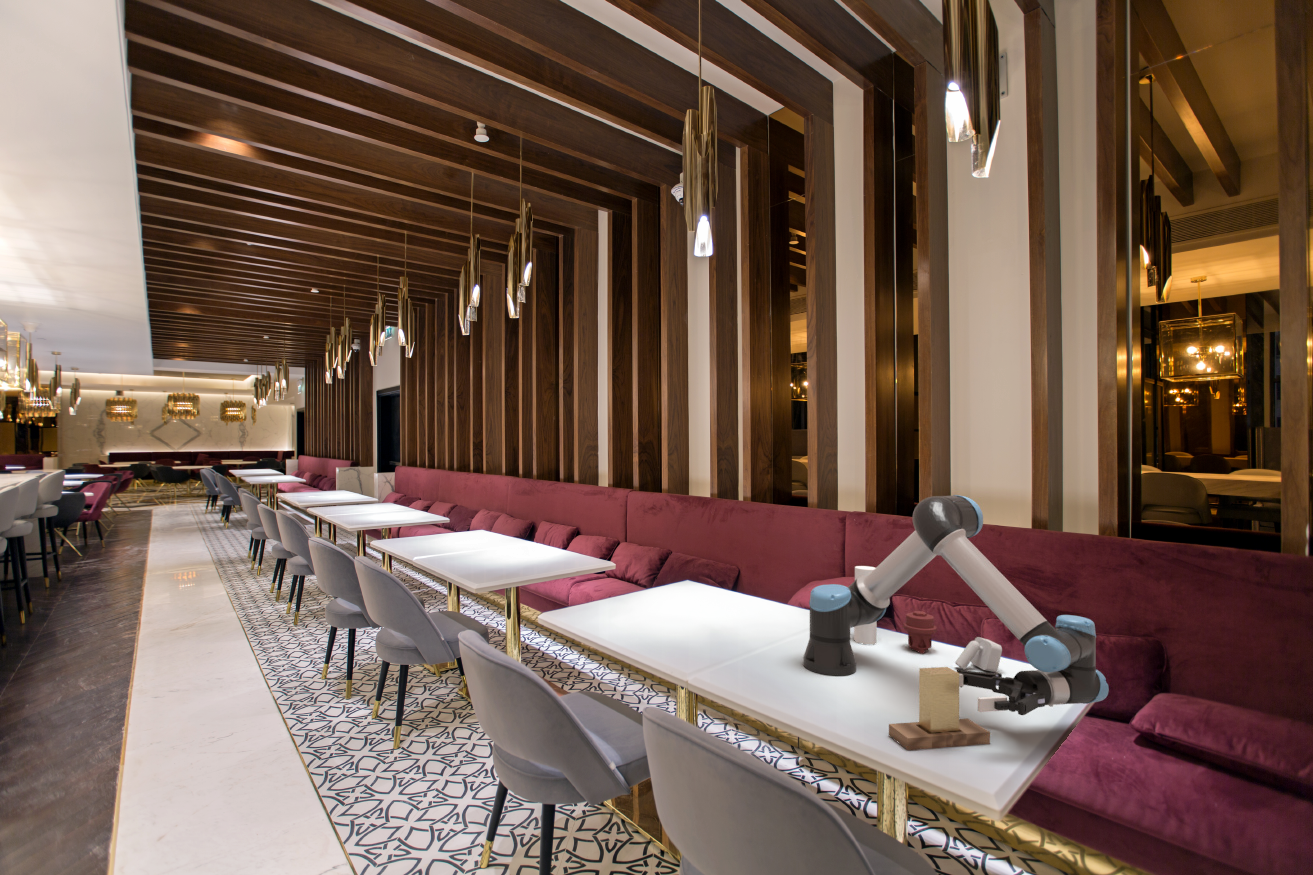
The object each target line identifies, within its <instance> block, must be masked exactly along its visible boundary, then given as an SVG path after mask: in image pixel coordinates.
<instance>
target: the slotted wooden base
mask: <svg viewBox="0 0 1313 875" xmlns="http://www.w3.org/2000/svg"><path fill="white" fill-rule="evenodd" d="M889 735H890V736H891V737H893V738H894V739H895V740H896V741H895V740H894V739H893V738H892V739H893V740H894V741H895V742H897V741H898V742H899V743H900V744H901V745H900V744H899V743H898V742H897V743H898V744H899V745H900V746H901V747H903V748H904V747H905V748H906V749H905V748H904V749H905V750H907V751H914V750H915V751H916V750H918V751H919V750H927V749H939V748H940V749H941V748H951V747H953V748H954V746H955V747H965V746H979V745H980V746H981V745H990V744H991V732H990V730H987V729H986V728H984V727H982V726H981V725H979V723H976V722H975V721H973V720H971V719H970V718H959V731H958V732H938V733H934V734H928V733H926V732H925V731H924V730H922V729H921V728H920V725H919V721H915V722H914V721H913V722H912V721H911V722H900V723H888V736H889ZM890 736H889V737H890ZM891 737H890V738H891Z"/></svg>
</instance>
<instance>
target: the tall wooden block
mask: <svg viewBox="0 0 1313 875" xmlns="http://www.w3.org/2000/svg"><path fill="white" fill-rule="evenodd" d="M918 671H919V672H918V673H919V677H918V678H919V680H918V681H919V682H918V683H919V686H918V687H919V688H918V689H919V692H918V693H919V694H918V695H919V697H918V699H919V700H918V703H919V704H918V710H919V711H918V714H919V715H918V716H919V717H918V722H919V725H920V728H921V729H922V730H924V731H925V732H926V733H928V734H934V733H938V732H958V731H959V719H960V687H959V673H958V672H957V670H955V669H952V668H950V667H948V666H941V667H940V666H939V667H922V668H921V667H920V668H919V670H918Z"/></svg>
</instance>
